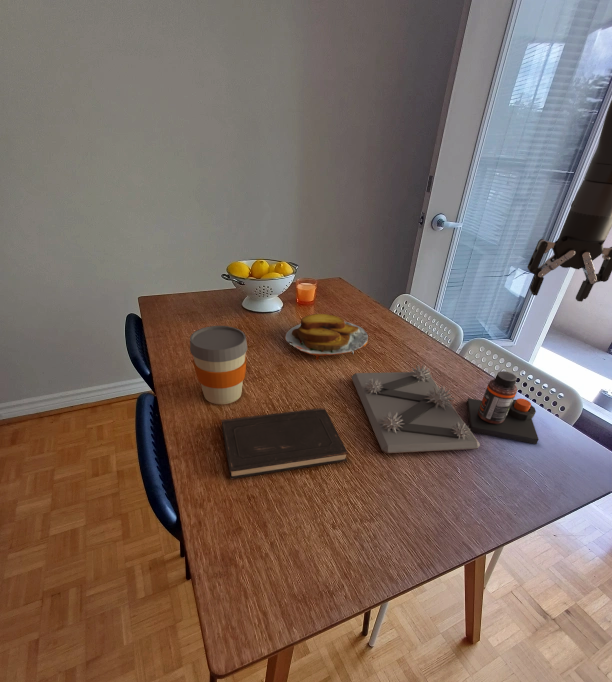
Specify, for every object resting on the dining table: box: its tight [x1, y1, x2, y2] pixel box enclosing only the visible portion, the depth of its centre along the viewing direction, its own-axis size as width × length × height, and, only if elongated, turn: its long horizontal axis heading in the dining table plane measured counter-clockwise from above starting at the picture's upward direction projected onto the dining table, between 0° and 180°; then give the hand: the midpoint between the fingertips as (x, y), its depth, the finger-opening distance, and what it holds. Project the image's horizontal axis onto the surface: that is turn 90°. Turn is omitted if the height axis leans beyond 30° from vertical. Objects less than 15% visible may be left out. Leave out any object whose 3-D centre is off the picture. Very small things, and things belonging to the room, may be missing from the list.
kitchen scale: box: [466, 397, 539, 445], centre depth 92 cm, size 14×13×3 cm
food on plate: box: [284, 313, 370, 361], centre depth 120 cm, size 25×25×7 cm
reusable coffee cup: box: [189, 325, 248, 405], centre depth 92 cm, size 12×13×15 cm
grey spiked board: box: [350, 363, 481, 454], centre depth 92 cm, size 30×22×7 cm
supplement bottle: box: [478, 370, 518, 424], centre depth 89 cm, size 6×6×11 cm
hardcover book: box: [220, 407, 349, 480], centre depth 82 cm, size 16×23×2 cm
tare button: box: [514, 398, 532, 412], centre depth 93 cm, size 3×3×2 cm
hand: (556, 297), depth 82 cm, fingers open, 8 cm apart
